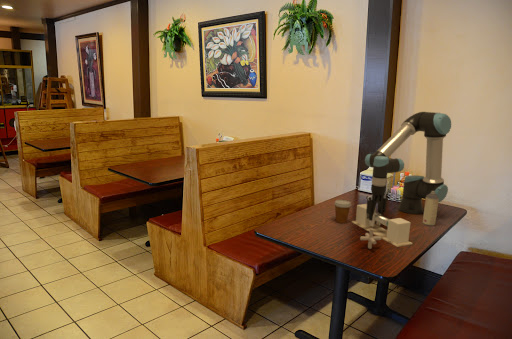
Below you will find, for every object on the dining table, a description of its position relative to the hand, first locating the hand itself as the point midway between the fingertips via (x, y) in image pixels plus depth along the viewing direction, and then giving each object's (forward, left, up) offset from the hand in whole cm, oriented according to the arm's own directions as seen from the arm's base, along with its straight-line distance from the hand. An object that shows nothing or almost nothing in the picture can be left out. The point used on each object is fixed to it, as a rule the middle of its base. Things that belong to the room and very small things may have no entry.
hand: (374, 225), depth 209 cm
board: (0, +4, -3) cm, 5 cm away
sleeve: (0, -8, -3) cm, 8 cm away
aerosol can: (-37, +4, -3) cm, 37 cm away
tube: (0, +1, +3) cm, 3 cm away
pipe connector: (+19, +19, -3) cm, 27 cm away
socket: (0, +18, -3) cm, 18 cm away
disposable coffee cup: (+10, -17, -3) cm, 20 cm away
